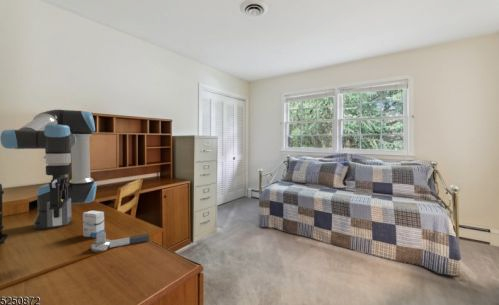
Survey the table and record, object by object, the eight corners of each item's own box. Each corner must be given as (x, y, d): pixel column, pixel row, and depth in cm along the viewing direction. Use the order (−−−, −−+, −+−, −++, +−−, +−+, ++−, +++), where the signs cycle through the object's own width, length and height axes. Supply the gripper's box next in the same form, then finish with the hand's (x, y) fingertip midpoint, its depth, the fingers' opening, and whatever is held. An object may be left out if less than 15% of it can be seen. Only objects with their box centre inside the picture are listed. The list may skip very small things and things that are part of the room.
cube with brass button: (52, 221, 89) (52, 198, 88) (71, 219, 92) (70, 197, 91) (47, 226, 84) (46, 202, 83) (67, 224, 86) (66, 200, 86)
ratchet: (90, 253, 93) (90, 238, 92) (93, 246, 99) (92, 232, 99) (149, 242, 103) (148, 228, 103) (148, 236, 109) (148, 223, 109)
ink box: (105, 234, 112) (104, 211, 112) (95, 238, 108) (95, 214, 107) (92, 232, 115) (91, 209, 114) (82, 236, 110) (82, 212, 109)
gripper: (54, 162, 93) (55, 216, 94) (36, 167, 76) (38, 232, 77) (76, 162, 97) (77, 214, 98) (63, 166, 80) (65, 229, 81)
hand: (60, 222), depth 88 cm, fingers closed on cube with brass button, 6 cm apart
